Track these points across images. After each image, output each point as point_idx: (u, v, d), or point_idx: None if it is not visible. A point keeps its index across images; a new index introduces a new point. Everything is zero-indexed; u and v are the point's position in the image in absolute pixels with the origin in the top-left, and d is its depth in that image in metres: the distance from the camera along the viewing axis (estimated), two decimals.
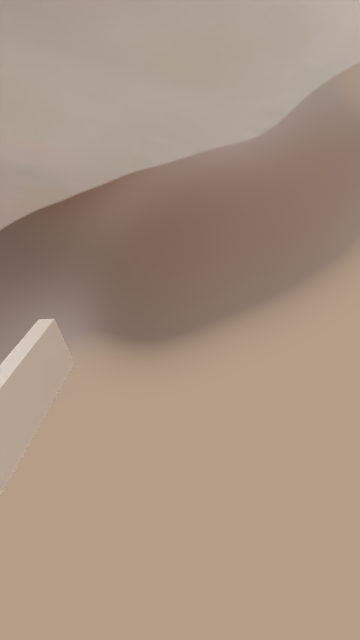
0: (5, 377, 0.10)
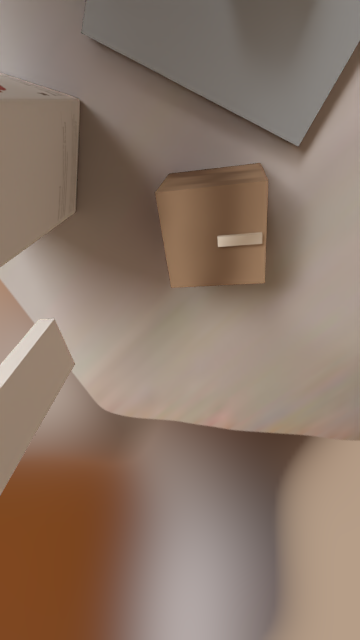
0: (5, 377, 0.10)
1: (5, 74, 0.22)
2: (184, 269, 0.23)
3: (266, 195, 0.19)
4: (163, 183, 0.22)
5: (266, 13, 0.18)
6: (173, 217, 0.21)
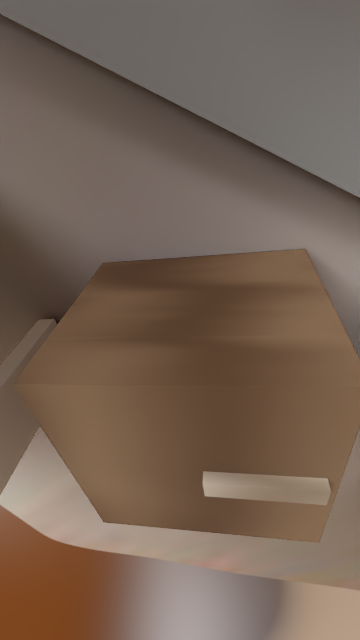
0: (5, 377, 0.10)
1: None
2: (127, 505, 0.10)
3: (358, 417, 0.06)
4: (67, 316, 0.09)
5: None
6: (80, 432, 0.07)
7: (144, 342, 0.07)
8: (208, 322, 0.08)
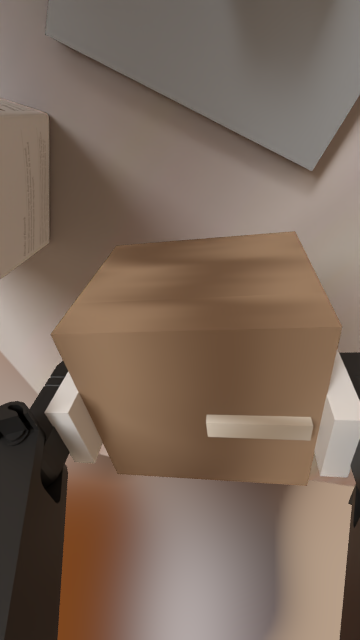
0: None
1: None
2: (140, 454, 0.11)
3: (331, 356, 0.07)
4: (89, 286, 0.10)
5: (274, 9, 0.14)
6: (103, 379, 0.09)
7: (157, 302, 0.09)
8: (211, 287, 0.09)
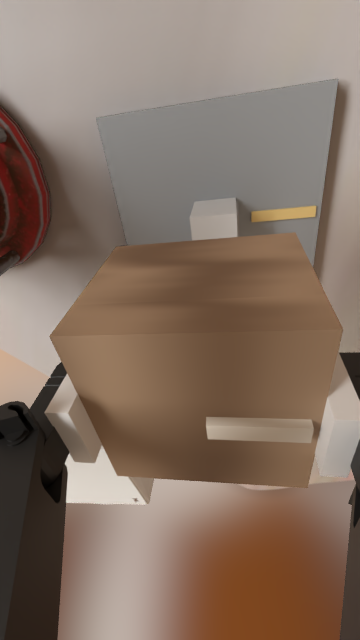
0: None
1: None
2: (139, 456, 0.11)
3: (332, 358, 0.07)
4: (89, 287, 0.10)
5: None
6: (102, 381, 0.09)
7: (157, 304, 0.09)
8: (211, 289, 0.09)
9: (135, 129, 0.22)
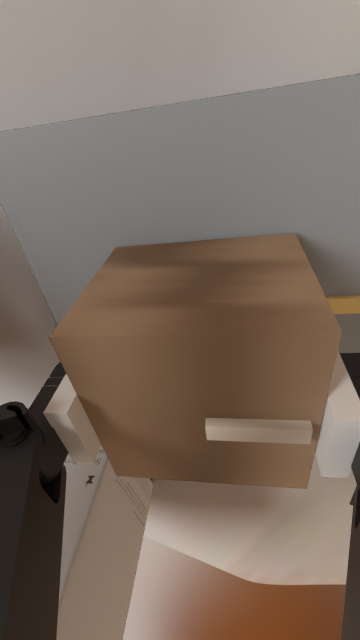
0: None
1: None
2: (139, 456, 0.11)
3: (331, 360, 0.07)
4: (88, 288, 0.10)
5: None
6: (101, 382, 0.09)
7: (156, 305, 0.09)
8: (210, 290, 0.09)
9: (47, 159, 0.11)
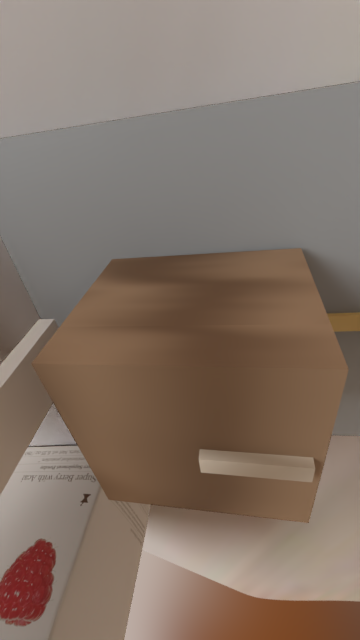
0: (5, 377, 0.10)
1: (51, 448, 0.24)
2: (131, 482, 0.11)
3: (337, 398, 0.07)
4: (79, 306, 0.10)
5: None
6: (88, 409, 0.08)
7: (148, 329, 0.08)
8: (206, 313, 0.08)
9: (38, 169, 0.11)
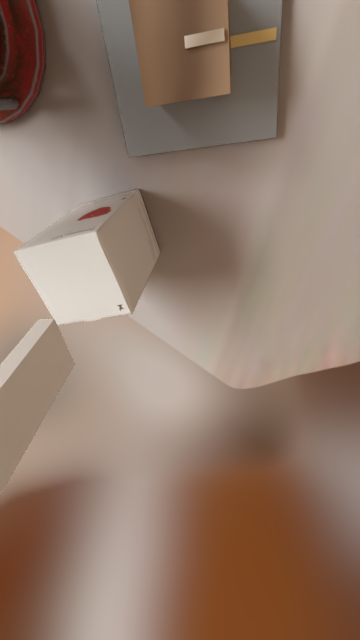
0: (5, 377, 0.10)
1: None
2: (156, 82, 0.25)
3: None
4: None
5: None
6: (144, 17, 0.23)
7: None
8: None
9: None
